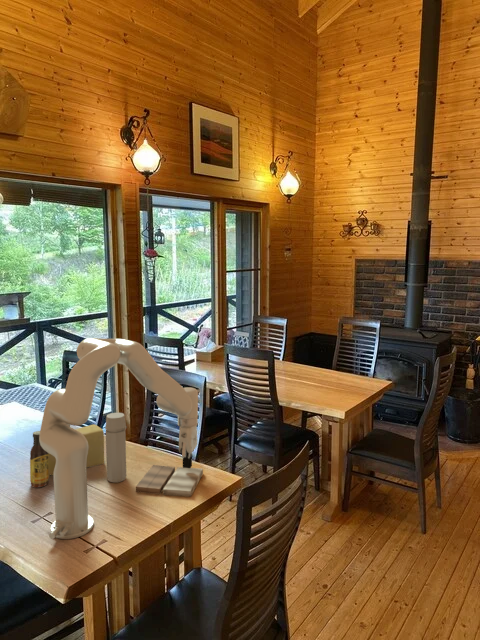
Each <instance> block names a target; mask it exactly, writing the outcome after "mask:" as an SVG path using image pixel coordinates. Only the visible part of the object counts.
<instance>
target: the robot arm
mask: <svg viewBox="0 0 480 640" xmlns="http://www.w3.org/2000/svg"><path fill="white" fill-rule="evenodd" d="M76 355H77V358H78V359H79V360H78V361H77V362H76V363H75V364H74V366H73V367H72V368H71V370H70V372H69V374H68V377H67V381H66V385H65V388H60V389H57V390H55V391H54V392H52V393H51V395H50V396H49V397H48V398H47V400H46V403H45V405H44V406H45V407H44V409H43V410H44V411H43V415H42V419H41V425H40V429H39V431H40V436H39V441H40V445H41V447H42V448H43V449H44V450H45V451H46V452H48V453H49V454H51V455H52V456H54V457H55V458H56V465H55V468H54V475H52V476H53V478H52V479H53V489H54V490H53V492H54V494H53V495H54V508H55V509H54V512H55V516H54V517H55V520H54V522H52V524H51V525H50V532H49V533H48V537H49V538H50V539H52V540H53V539H55V538H56V539H60V540H72V539H76V538H79V537H82V536H84V535H86V534H87V533H89V532H90V531H92V529H93V527H94V519H93V517H92V516H90V515H89V503H88V500H89V499H88V479H87V477H88V475H87V467H86V463H87V455H88V441H87V439H86V437H85V436H84V435H83V434H82V433H80V432H79V431H77V430H75V429H76V428H73V427H71V426H74V427H79V426H82V425H84V424H85V423H87V421H88V420H89V418H90V415H91V411H92V406H93V401H94V397H95V390H96V388H97V387H96V386H97V384H98V381H99V379H100V378H101V376H102V375H103V374H104V373H105V372H106V371H108V370H110V369H111V368H113V367H114V366H116V365H117V364H119V365H123V366H125V367H126V368H127V369H128V370H129V371H130V373H131V374H132V375H133V376H134V377H135V379H136V380H137V381H138V382H139V384H141V386H143V387H144V388H145V389H147V390H149V391H150V392H151V393H154V394H156V395H157V396H156V400H155V401H156V405H157V407H158V408H159V409H160V410H162V411H165V412H168V413H171V414H173V415H176V416H177V426H178V427H179V433H178V452H179V453H180V454H181V457H182V467H183V468H193V452H194V451H195V449H196V448H197V445H198V427H197V426H198V423H199V422H198V421H199V419H198V417H199V414H198V412H199V407H198V406H199V391H198V390H197V389H196V388H195V387H183V386H182V385H181V384H180V383H179V382H178V381H176V379H174V378H172V377H171V375H169V374H168V373H167V372H165V370H163V369H162V368H161V367H160V366H159V364H158V363H157V362H156V360H154V358H153V357H152V355H150V353H149V352H148V350H147V349H146V348H145V347H144V346H143V345H142V344H141V343H140V342H137V341H134V340H130V339H124V338H102V337H101V338H100V337H99V338H98V337H88V338H85V339H83V340H82V341H81V342H79V344H78V346H77V347H76Z"/></svg>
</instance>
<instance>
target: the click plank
mask: <svg viewBox="0 0 480 640" xmlns="http://www.w3.org/2000/svg"><path fill="white" fill-rule="evenodd" d="M203 474H204V469H203V468H199V467H197V468H196V467H191V468H183V466H178V467H177V468H175V472H174V474H173V475H172V477H171V478H170V480H169V481H168V483H167V484H166V486H165V487H164V489H163V490H162V495H167V496H180V497H192V495H193V493H194V491H195V489H196V487H197V485H198V484H199V482H200V481H201V480H200V479H201V478H202V476H203Z"/></svg>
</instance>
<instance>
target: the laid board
mask: <svg viewBox="0 0 480 640" xmlns="http://www.w3.org/2000/svg"><path fill="white" fill-rule="evenodd" d="M175 471H176V467H175V466H169V465H158V464H157V465H156V464H153V465H151V467H150V468H149V469H148V471H147V472H146V473H145V474H144V475H143V477H142V478H141V479H140V480H139V482H138V483H137V484H136V485H135V493H144V494H155V495H161V493H163V489H164V487H165V486H166V484H167V483H168V481H169V480H170V478H171V477H172V475H173V474H174V472H175Z"/></svg>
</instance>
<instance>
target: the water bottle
mask: <svg viewBox="0 0 480 640" xmlns="http://www.w3.org/2000/svg"><path fill="white" fill-rule="evenodd" d="M104 429H105V448H106V449H105V451H106V452H105V453H106V454H105V455H106V456H105V457H106V479H107V480H108V482H111V483H120V482H123V481H125V480H126V478H127V449H126V448H127V444H126V442H127V441H126V438H127V437H126V429H127V424H126V415H125V413H123V412H111V413H108V414H107V415H106V418H105V426H104Z"/></svg>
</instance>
